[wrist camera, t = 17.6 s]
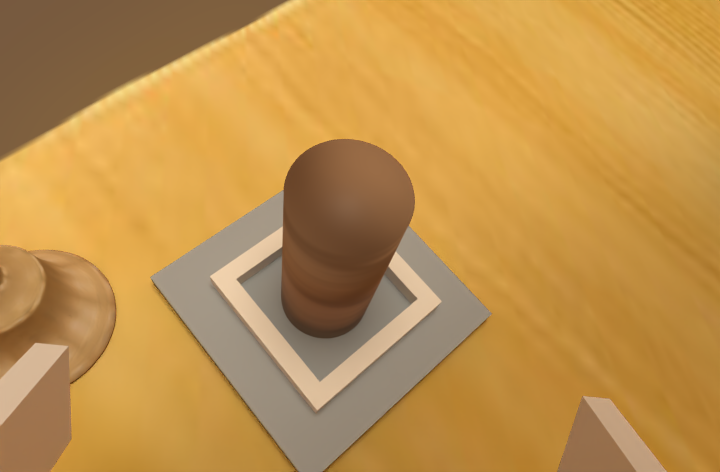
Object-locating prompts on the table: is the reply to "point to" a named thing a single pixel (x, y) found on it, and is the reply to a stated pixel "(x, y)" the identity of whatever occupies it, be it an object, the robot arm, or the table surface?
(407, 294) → the board
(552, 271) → the table surface
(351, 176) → the walnut pin
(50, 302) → the hand bell
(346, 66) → the table surface
